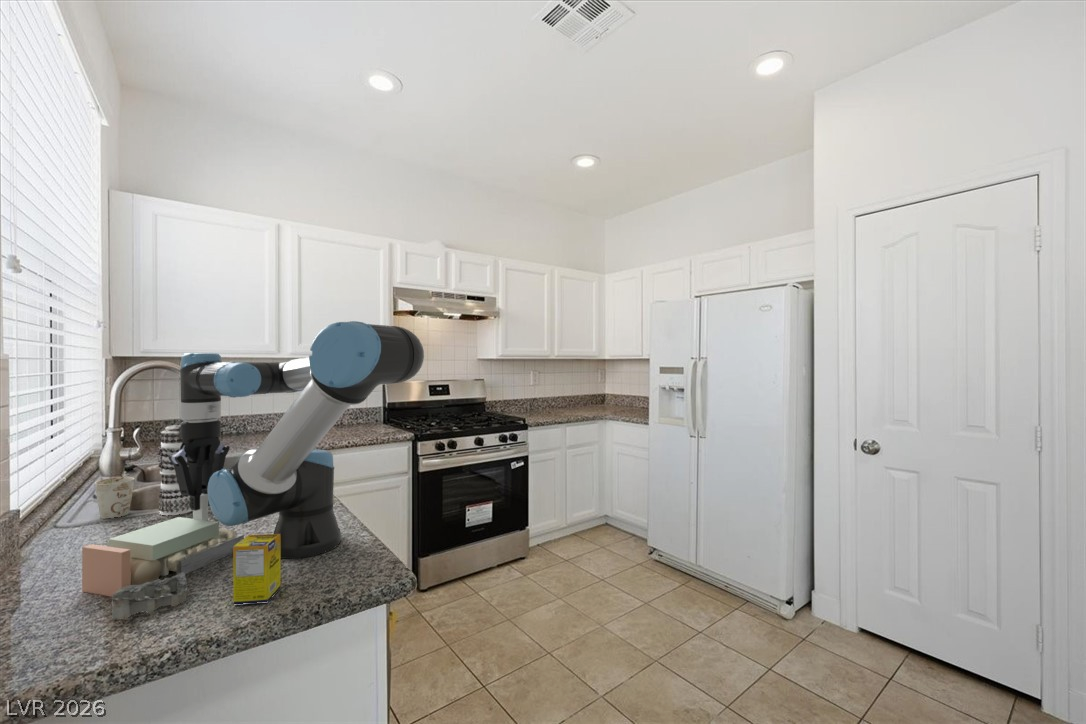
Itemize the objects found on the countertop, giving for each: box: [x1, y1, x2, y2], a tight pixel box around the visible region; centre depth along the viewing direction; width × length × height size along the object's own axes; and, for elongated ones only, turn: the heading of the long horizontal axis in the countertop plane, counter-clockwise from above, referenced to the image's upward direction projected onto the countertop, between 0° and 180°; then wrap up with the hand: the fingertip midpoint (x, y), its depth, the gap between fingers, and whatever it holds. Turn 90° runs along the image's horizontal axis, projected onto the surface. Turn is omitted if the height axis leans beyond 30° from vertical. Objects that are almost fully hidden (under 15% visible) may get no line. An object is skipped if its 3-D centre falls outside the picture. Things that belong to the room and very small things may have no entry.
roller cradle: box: [130, 557, 170, 585], centre depth 95 cm, size 7×8×4 cm
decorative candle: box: [157, 424, 193, 517], centre depth 138 cm, size 9×9×25 cm
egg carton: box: [109, 572, 188, 620], centre depth 86 cm, size 11×8×4 cm
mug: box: [94, 476, 135, 520], centre depth 135 cm, size 8×13×10 cm, turn 58°
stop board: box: [81, 543, 130, 598], centre depth 90 cm, size 10×2×8 cm, turn 76°
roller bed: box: [164, 528, 245, 575], centre depth 105 cm, size 14×16×5 cm
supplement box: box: [232, 533, 282, 605], centre depth 88 cm, size 6×6×11 cm
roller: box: [130, 557, 162, 585], centre depth 94 cm, size 9×5×5 cm, turn 76°
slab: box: [108, 516, 220, 561], centre depth 101 cm, size 12×14×3 cm
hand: (200, 522), depth 108 cm, fingers closed
